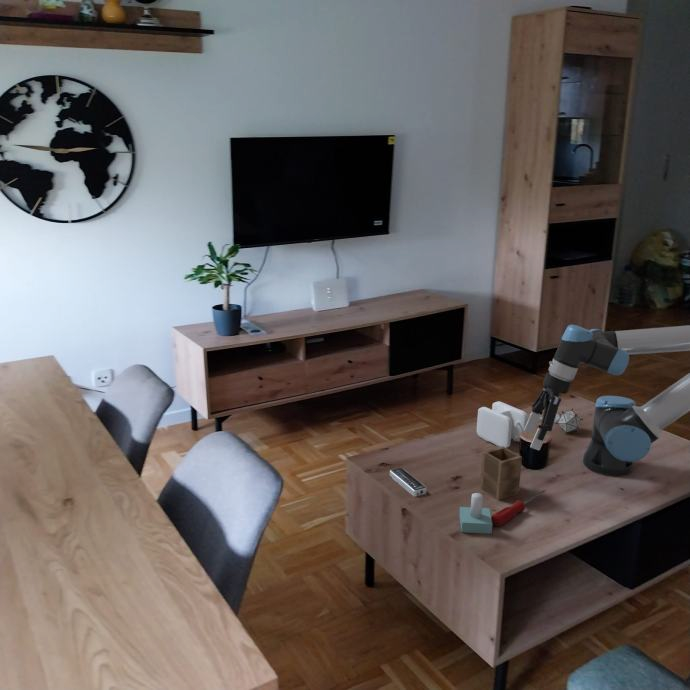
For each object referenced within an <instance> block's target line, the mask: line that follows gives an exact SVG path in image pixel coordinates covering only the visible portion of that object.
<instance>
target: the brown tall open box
mask: <svg viewBox="0 0 690 690" xmlns="http://www.w3.org/2000/svg"><path fill="white" fill-rule="evenodd" d="M481 458H482V459H481V470H480V471H481V472H480V484H479V489H480V490H482V491H483V492H485V493H486V492H487V494H488V495H489V496H491V497H493V498H494V499H496V500H498V501H500V500H503V499H506V498H509V497H512V496H514V495H517V494H519V493H520V484H521V472H522V471H521V470H522V462H523V461H522V460H523V456H521V455H519V454H517V452H514V451H513V450H510V449H509V448H508V447H507V448H505V447H496V448H493V449H489V450H485V451H482V457H481Z"/></svg>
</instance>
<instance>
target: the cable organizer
mask: <svg viewBox="0 0 690 690" xmlns="http://www.w3.org/2000/svg"><path fill="white" fill-rule="evenodd" d="M528 419H529V415H528V413H527V412H525V411H524V410H522V409H519V408H517V407H514V406H512V405H510V404H507V403H504V402H502V401H496V402H493V403H492V406H491V408H488V407H486V406H482V407H480V408H478V410H477V420H476V434H477V436H478V437H480V438H481V439H482V440H483V439H484V441H486V442H488V443H491V444H494V445H495V446H496V447H497V448H499V447H505V448H507V449H508V448H509V447H510V446H511V440H512V439H513V440H512V441H514V442H516V441H517V442H516V443H520V442H519V438H520V434H521V433H522V432H524V429H525V426H526V424H527V422H528Z"/></svg>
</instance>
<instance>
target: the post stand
mask: <svg viewBox="0 0 690 690" xmlns="http://www.w3.org/2000/svg"><path fill="white" fill-rule="evenodd" d="M470 499H471V500H470V501H471V502H470V507H469V506H459V515H458V516H459V523H460V524H459V525H460V529H461V533H471V534H472V533H473V534H486V535H487V534H491V535H492V533H493V523H492V520H491V517H492V515H491V511H490V508H489V507H488V508H487V507H483V500H484V496H483V494H482V493H479V492H475V493H472V494H471V498H470Z"/></svg>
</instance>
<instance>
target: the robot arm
mask: <svg viewBox="0 0 690 690" xmlns="http://www.w3.org/2000/svg"><path fill="white" fill-rule="evenodd" d="M688 351H689V352H690V325H688V324H687V325H678V326H665V327H651V328H639V329H629V330H615V331H613V330H612V331H604V330H601V329H599V328H592V329H587V328H586V327H585V328H584V327H582V326H580V325H576V324H568V325H567V327H566V329H565V331H564V333H563V335H562V336H561V339H560V342H559V343H558V346H557V350H556V352H555V354H554V356H553V358H552V361H551V360H550V361H549V362H548V364H549V367H548V371H547V372H546V373H545V375H544V378H543V380H542V384H543V388H542V389H541V391H540V392H539V394H538V396H537V397H536V399H535V400H534V402H533V403H532V405H531V407H532V409H531V413H530V414H531V415H529V416H528V422H527V424H526V426H525V429H524V432H527V434H529V435H533V433H534V431H535V429H536V427H537V430H536V432H535V435H534V437H533V439H532V442H531V444H530V446H529V447H530V448H531V449H534V450H535V451H536V450H537V451H540V450H541V448H542V446H543V443H544V441H545V439H546V437H547V434H548V432H552V429H553V426H554V423H555V422H554V420H555V418H556V413H557V414H558V409H559V406H560V404H561V402H562V398H560V394H567V393H568V392H569V389H570V387H571V385H572V381H573V380H574V379H575V377H576V375H577V373H578V369H579V367H580V365H581V364H583V365H585V366H590V367H591V368H595V369H596V370H599V371H603V372H606V373H607V374H612V375H614V376H620V375H622V374H623V373H624V372H625V371H626V369H627V366H628V365H629V361H630V355H643V354H646V355H647V354H656V353H657V354H658V353H660V354H661V353H673V352H688ZM689 412H690V372H689V373H687V374H686V375H685V376H683V377H682V378H680V379H679V380H678V381H676V382H674V383H673V384H672V385H670V386H669V387H667V388H665V389H664V390H662V391H661V392H660V393H659V394H657V395H656V396H655V397H653V398H651V399H650V400H649V401H647V402H645V404H643V405H641V406H637V405H636V401H635V400H633V399H631V398H629V397H624V396H619V395H602V396H600V397H598V398H597V399H596V403H595V405H594V416H593V424H592V430H591V431H592V432H591V440H590V442H589V443H588V445H587V447H586V450H585V451H584V454H583V457H582V464H583V465H584V466H585V467H586V468H587V469H589V470H590V471H592V472H595V473H596V474H600V475H605V476H611V477H612V476H613V477H621V476H622V477H624V476H626V475H630V473H632V472H633V470H634V469H633V468H634V462H637V461H640V460H642V459H643V458H645V457H646V456H647V455H648V454H649V452H650V449H651V447H652V444H653V443H655V442H656V441H657V440H659V439H660V438H661V437H660V436H661V432H662V431H663V429H665V428H667V427H668V426H670V425H671V424H672V423H674V422H675V421H677V420H678V419H680V418H681V417H682V416H684V415H686V414H687V413H689ZM540 417H542V420H541V422H540V424H538V423H539V420H540V419H539V418H540Z"/></svg>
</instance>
